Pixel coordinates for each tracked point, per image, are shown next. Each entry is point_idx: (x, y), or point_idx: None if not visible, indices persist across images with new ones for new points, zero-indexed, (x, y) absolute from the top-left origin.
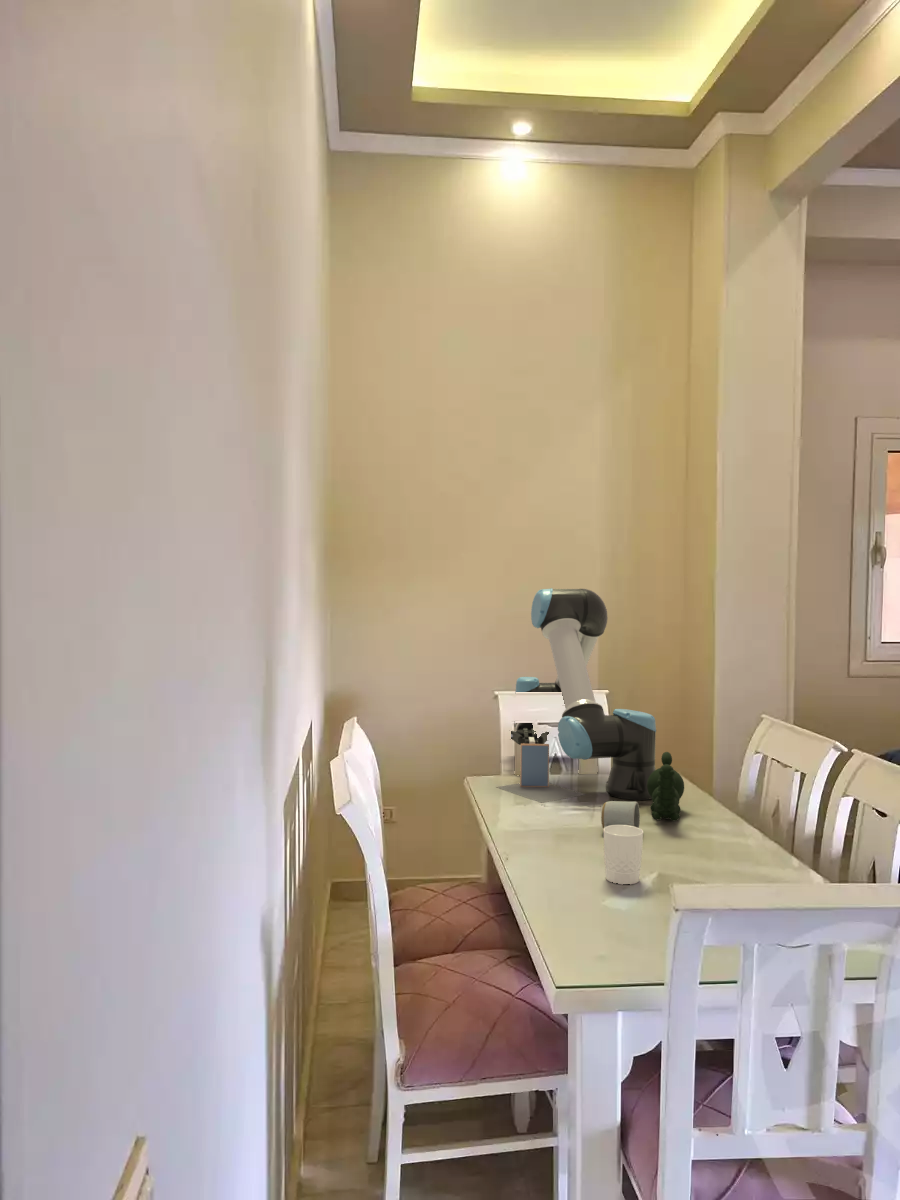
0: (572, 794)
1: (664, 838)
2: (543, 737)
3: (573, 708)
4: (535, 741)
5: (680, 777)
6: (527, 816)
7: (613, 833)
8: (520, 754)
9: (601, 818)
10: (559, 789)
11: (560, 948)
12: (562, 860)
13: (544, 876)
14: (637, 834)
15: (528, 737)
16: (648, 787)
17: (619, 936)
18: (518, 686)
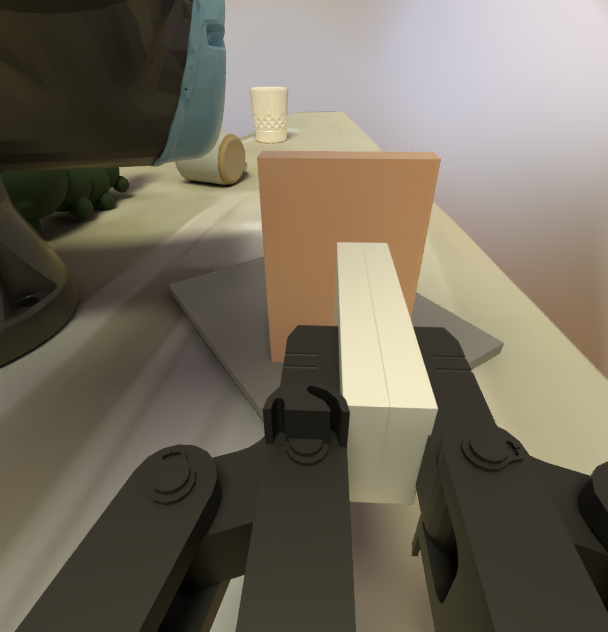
0: (214, 283)
1: (163, 174)
2: (114, 511)
3: None
4: (323, 327)
5: None
6: None
7: (274, 99)
8: (427, 227)
9: (244, 154)
10: (238, 322)
11: (338, 117)
12: None
13: (342, 141)
14: (252, 96)
15: (445, 434)
16: (63, 174)
17: (301, 120)
18: None
